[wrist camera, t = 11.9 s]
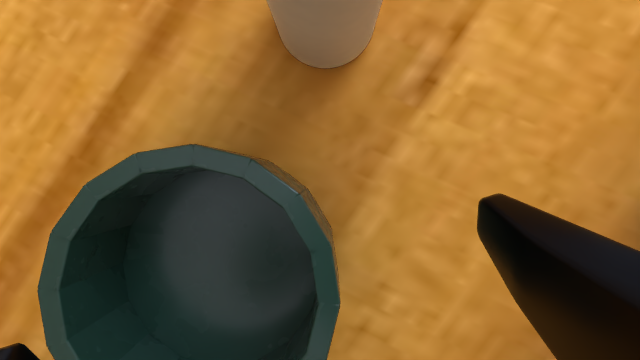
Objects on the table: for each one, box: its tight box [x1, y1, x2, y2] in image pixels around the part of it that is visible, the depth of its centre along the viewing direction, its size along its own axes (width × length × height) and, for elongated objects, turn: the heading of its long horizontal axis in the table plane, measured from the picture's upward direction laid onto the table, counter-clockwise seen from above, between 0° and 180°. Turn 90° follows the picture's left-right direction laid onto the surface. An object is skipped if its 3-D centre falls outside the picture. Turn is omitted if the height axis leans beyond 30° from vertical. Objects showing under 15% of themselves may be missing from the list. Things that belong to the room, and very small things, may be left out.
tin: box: [38, 144, 340, 360], centre depth 19 cm, size 11×11×5 cm
